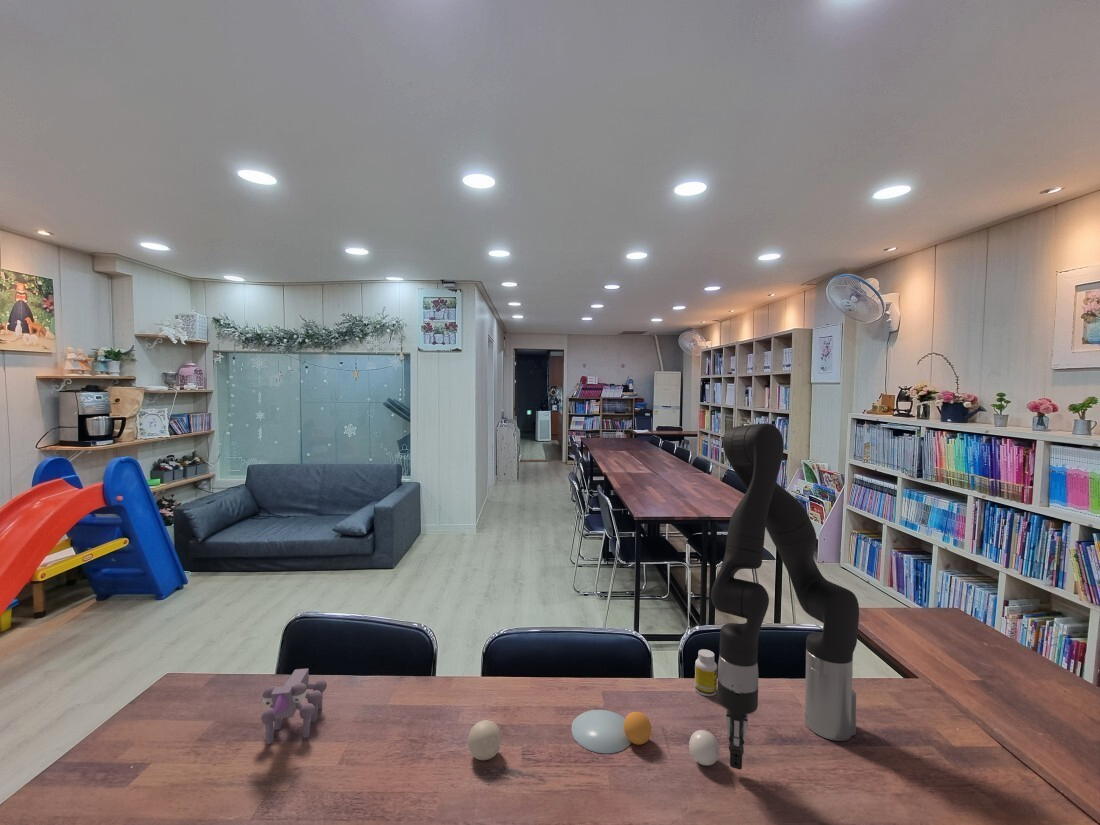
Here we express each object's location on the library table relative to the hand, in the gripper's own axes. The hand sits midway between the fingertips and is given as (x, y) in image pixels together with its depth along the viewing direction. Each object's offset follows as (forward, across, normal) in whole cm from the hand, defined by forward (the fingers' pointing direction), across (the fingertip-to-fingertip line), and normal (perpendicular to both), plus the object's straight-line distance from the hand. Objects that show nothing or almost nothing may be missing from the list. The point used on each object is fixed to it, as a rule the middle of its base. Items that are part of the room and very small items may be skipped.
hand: (735, 765), depth 94 cm
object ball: (-1, -2, -20) cm, 20 cm away
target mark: (+2, -2, -28) cm, 28 cm away
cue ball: (-1, -1, -6) cm, 6 cm away
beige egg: (+2, +15, -48) cm, 51 cm away
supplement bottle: (+2, -27, -8) cm, 28 cm away
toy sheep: (+3, +27, -91) cm, 95 cm away
